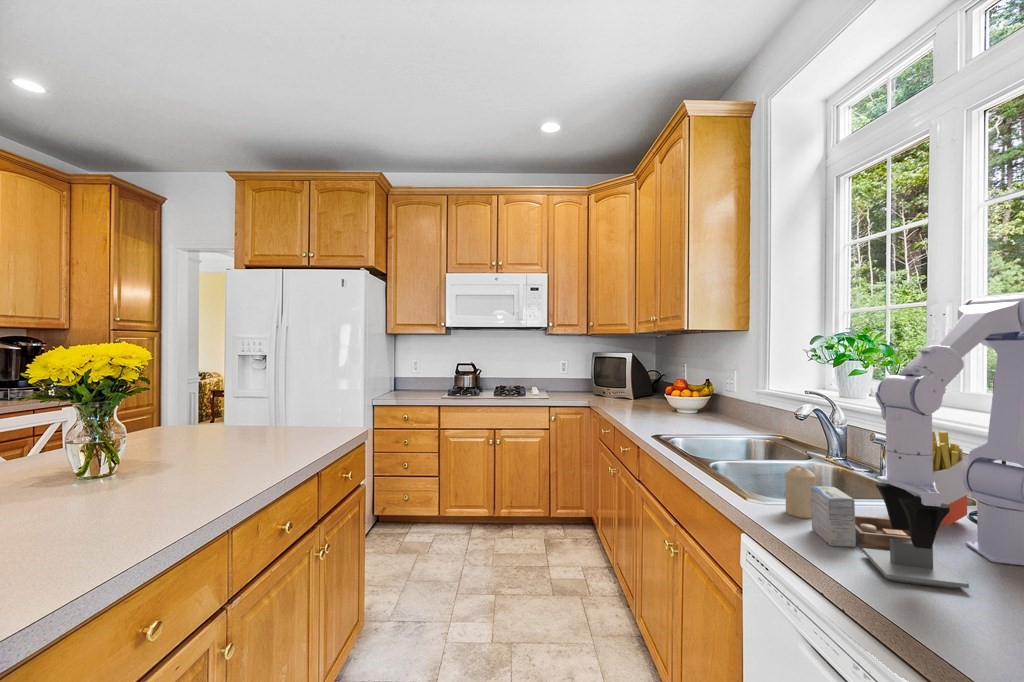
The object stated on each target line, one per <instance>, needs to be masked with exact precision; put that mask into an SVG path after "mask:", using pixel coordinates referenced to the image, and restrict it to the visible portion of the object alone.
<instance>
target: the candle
mask: <svg viewBox="0 0 1024 682" xmlns="http://www.w3.org/2000/svg"><path fill="white" fill-rule="evenodd" d="M784 475H785V485H784V486H785V512H786V514H787V513H788V515H789V516H792V517H795V518H800V519H801V518H802V519H812V507H811V487H815V486H816V475H815V474H814V472H812V471H810V470H809V469H808V468H805V467H803V466H800V465H793V466H791V467H790V468H789V469H787V470H786V471H785V473H784Z"/></svg>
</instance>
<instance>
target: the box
mask: <svg viewBox="0 0 1024 682" xmlns="http://www.w3.org/2000/svg"><path fill="white" fill-rule="evenodd" d="M855 534H856V545H858V546H859V547H860V548H866V549H876V550H885V551H890V539H900V540H910V541H911V536H910V530H899V529H893V528H892V526H891V523H890V519H889V518H886V517H874V516H865V515H864V516H863V515H855Z"/></svg>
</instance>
